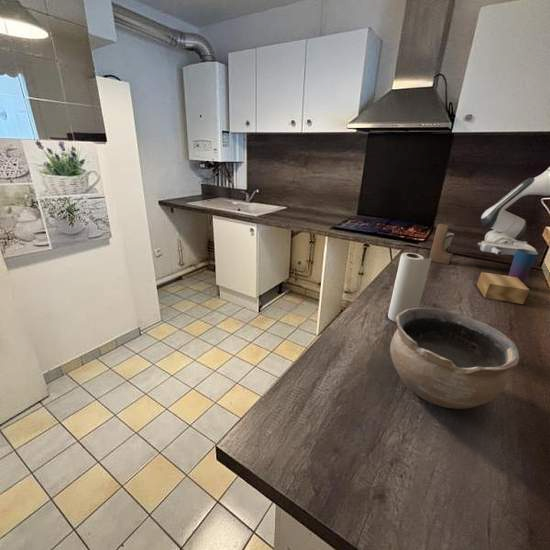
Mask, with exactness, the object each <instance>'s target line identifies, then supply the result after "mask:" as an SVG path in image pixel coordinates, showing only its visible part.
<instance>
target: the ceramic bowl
mask: <svg viewBox="0 0 550 550" xmlns="http://www.w3.org/2000/svg"><path fill="white" fill-rule="evenodd" d="M395 323H396V326H397V329H396V330H395V332H394V334H393V335H392V338H391V341H390V347H389V348H390V349H389V353H390V356H391V361H392V364H393V366H394V368H395V370H396V372H397V373H398V375H399V377H400V379H401V380H402V382H403V383H404V385H405V386H406V387H407V388H408V389H409V390H410V391H411V392H412V393H414V394H415V395H417V396H418V397H419V398H421V399H423V400H425V401H426V402H428V403H431V404H433V405H436V406H438V407H442V408H446V409H452V410H453V409H454V410H466V409H467V410H468V409H471V408H475V407H476V408H477V407H479V406H483V405H485V404H487V403H489V402H491V401H494V399H496V398H498V397H499V396H500V395H501V394H502V393H503V391H504V389H505V388H506V386H507V383H508V381H509V375H510V370H511V369H513V368H514V367H516V366H517V365H518V364H519V360H520V353H519V350H518V347H517V346H516V344H515V343H514V341H513V340H512V339H510V337H508V336H507V335H505V334H504V333H503V332H502V331H499V330H498V329H497V328H495V327H492V326H490V325H489V324H487V323H484V322H482V321H479V320H477V319H474V318H472V317H469V316H467V315H462V314H459V313H455V312H451V311H450V310H449V311H448V310H446V309H445V310H444V309H441V308H428V307H427V308H426V307H419V308H413V309H407V310H405V311H403V312H401V313H399V314H398V315H397V317H396V322H395Z"/></svg>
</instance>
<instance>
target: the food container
mask: <svg viewBox="0 0 550 550" xmlns="http://www.w3.org/2000/svg"><path fill="white" fill-rule="evenodd" d="M454 235H455V233H453V232H448V233H447V236H446V240H445V243H444V249H445V251H446V252H449V250H450V247H451V244H452V241H453V238H454Z"/></svg>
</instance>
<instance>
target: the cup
mask: <svg viewBox="0 0 550 550" xmlns="http://www.w3.org/2000/svg"><path fill="white" fill-rule="evenodd" d="M538 255H539V252H538V251H536V252H535V251H532V250H528V249H516V252H515V255H513V259H512V262H511V266H510V269H509V271H508V275H507V276H512V277H517V278H518V279H519V280H520V281H521V282H522V283H523V284H525V281H526V279H527V278H528V275H529V273H530V271H531V269H532V267H533V265H534V263H535V261H536V260H537V257H538Z"/></svg>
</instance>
